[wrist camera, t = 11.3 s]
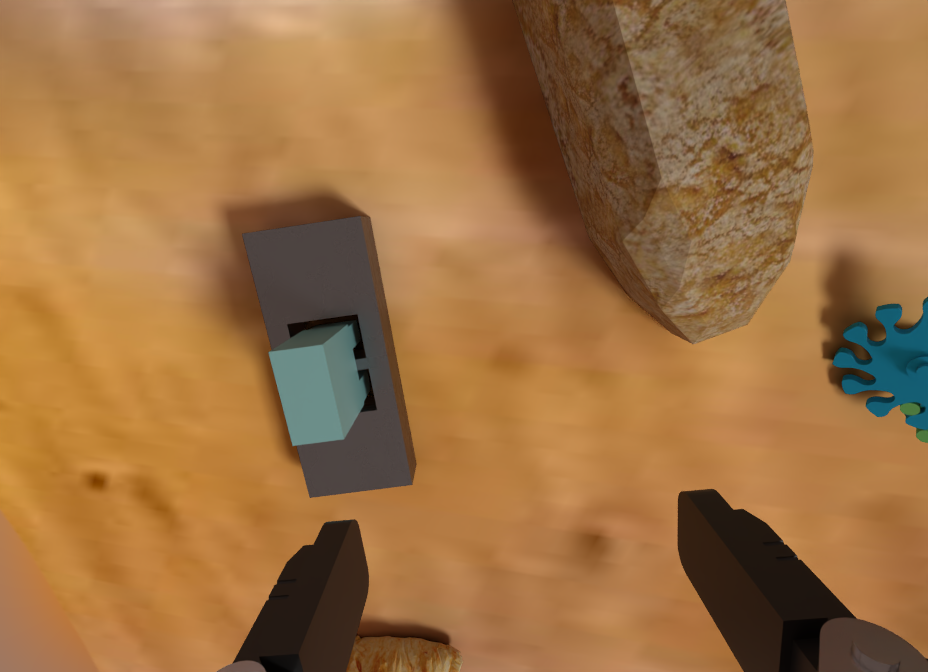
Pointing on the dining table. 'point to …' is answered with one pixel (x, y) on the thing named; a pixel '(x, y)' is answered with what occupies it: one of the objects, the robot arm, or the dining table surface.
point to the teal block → (320, 382)
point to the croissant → (402, 655)
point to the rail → (348, 293)
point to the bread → (679, 145)
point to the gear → (892, 366)
